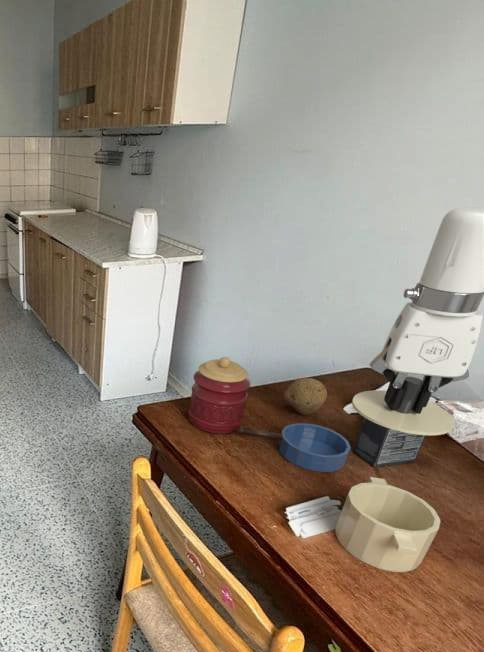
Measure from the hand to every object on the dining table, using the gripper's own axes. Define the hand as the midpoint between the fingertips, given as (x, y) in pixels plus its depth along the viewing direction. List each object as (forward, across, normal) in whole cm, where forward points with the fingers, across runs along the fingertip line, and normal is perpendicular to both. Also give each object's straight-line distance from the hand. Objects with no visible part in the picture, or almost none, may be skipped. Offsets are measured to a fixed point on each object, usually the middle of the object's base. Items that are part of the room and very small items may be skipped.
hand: (402, 407), depth 77 cm
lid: (+1, 0, 0) cm, 1 cm away
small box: (+24, +10, +24) cm, 35 cm away
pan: (+24, -5, +20) cm, 32 cm away
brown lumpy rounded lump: (+24, -5, +39) cm, 46 cm away
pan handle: (+22, -16, +20) cm, 34 cm away
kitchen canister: (+24, -26, +28) cm, 45 cm away
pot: (+24, +2, -6) cm, 25 cm away
